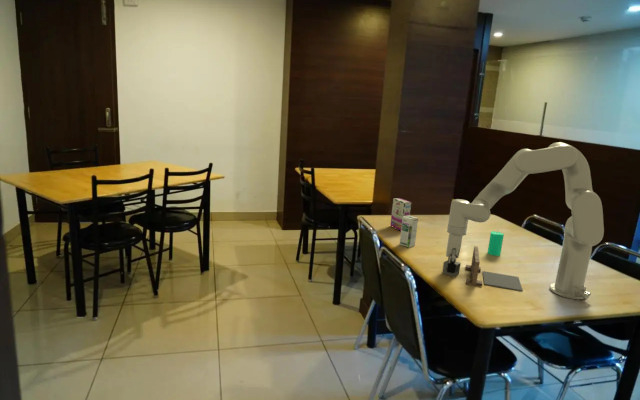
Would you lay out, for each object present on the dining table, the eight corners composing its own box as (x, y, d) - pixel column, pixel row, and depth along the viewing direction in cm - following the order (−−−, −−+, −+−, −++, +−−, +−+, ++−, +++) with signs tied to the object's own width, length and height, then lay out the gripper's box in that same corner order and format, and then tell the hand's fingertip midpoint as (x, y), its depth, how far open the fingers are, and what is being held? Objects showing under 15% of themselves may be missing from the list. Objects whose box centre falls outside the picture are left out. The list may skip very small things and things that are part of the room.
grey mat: (518, 278, 178) (518, 276, 178) (522, 291, 165) (522, 290, 165) (482, 272, 182) (482, 271, 182) (484, 284, 169) (484, 283, 169)
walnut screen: (465, 266, 187) (468, 245, 184) (479, 269, 185) (483, 247, 183) (465, 284, 168) (469, 260, 166) (482, 287, 166) (485, 263, 164)
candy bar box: (408, 231, 234) (412, 202, 230) (401, 232, 232) (404, 202, 228) (397, 225, 244) (400, 197, 240) (389, 226, 241) (392, 198, 238)
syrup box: (398, 244, 211) (402, 216, 207) (405, 242, 215) (408, 214, 211) (408, 247, 207) (411, 219, 203) (415, 245, 211) (418, 217, 208)
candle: (501, 256, 203) (505, 232, 200) (488, 254, 204) (492, 231, 201) (499, 252, 209) (503, 228, 206) (486, 250, 210) (490, 227, 207)
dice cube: (458, 274, 178) (460, 263, 177) (453, 277, 175) (454, 265, 174) (448, 270, 182) (449, 259, 181) (442, 273, 178) (443, 262, 177)
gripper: (448, 222, 184) (442, 259, 188) (446, 233, 168) (440, 274, 172) (466, 225, 182) (460, 262, 186) (466, 236, 166) (460, 277, 170)
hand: (451, 268), depth 179 cm, fingers open, 9 cm apart
